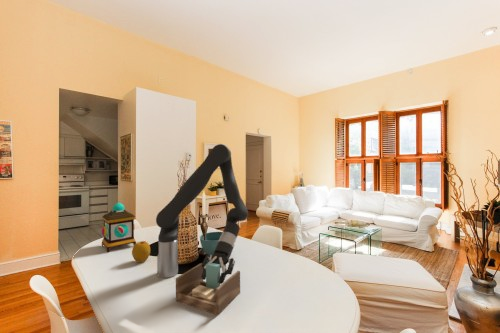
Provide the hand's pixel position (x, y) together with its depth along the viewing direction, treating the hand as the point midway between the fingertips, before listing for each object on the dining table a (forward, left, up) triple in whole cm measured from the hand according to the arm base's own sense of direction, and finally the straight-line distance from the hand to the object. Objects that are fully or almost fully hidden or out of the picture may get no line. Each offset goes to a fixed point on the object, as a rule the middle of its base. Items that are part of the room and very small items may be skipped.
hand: (211, 281), depth 96 cm
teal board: (0, +1, -6) cm, 6 cm away
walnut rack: (0, -2, -7) cm, 7 cm away
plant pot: (-25, +39, -7) cm, 47 cm away
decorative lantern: (-96, +26, -7) cm, 100 cm away
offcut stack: (0, -5, -6) cm, 8 cm away
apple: (-59, +14, -7) cm, 61 cm away
